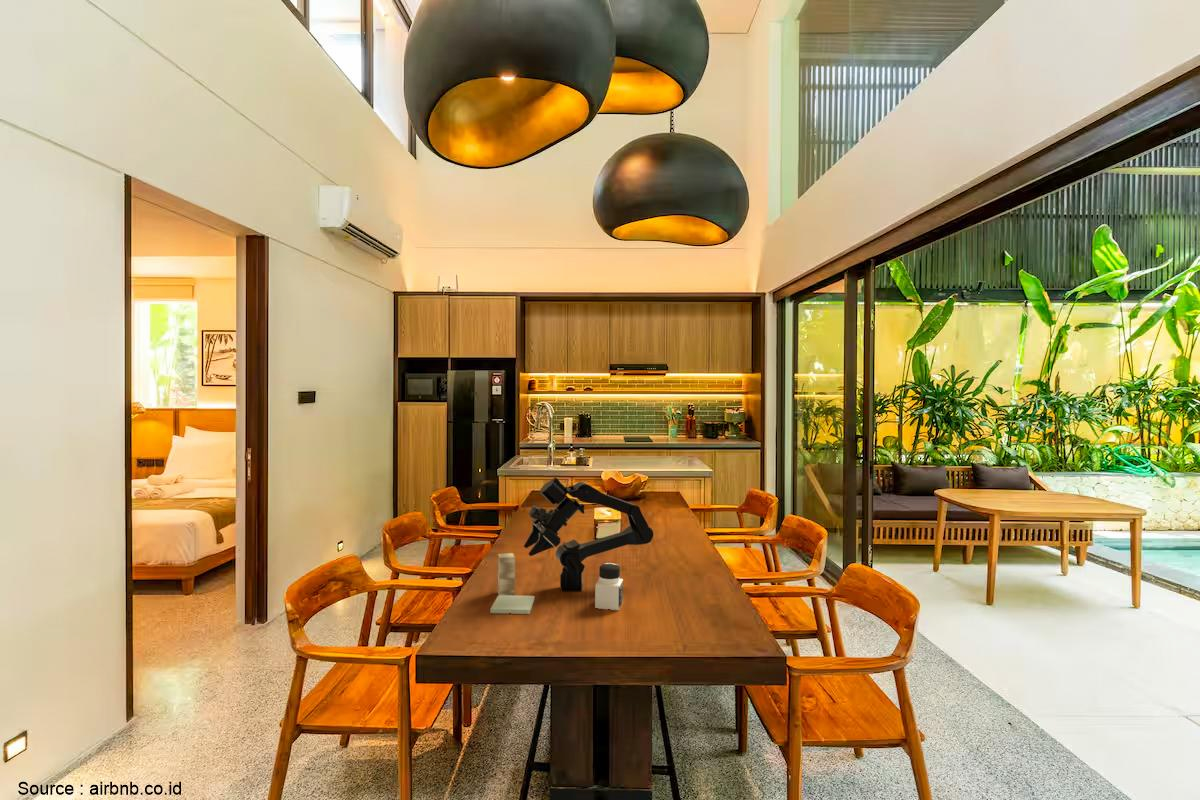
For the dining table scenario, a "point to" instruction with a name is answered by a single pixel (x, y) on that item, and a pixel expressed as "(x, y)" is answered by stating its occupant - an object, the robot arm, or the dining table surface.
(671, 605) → the dining table surface
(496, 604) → the board
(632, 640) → the dining table surface
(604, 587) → the medicine bottle
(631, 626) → the dining table surface
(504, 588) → the birch block
